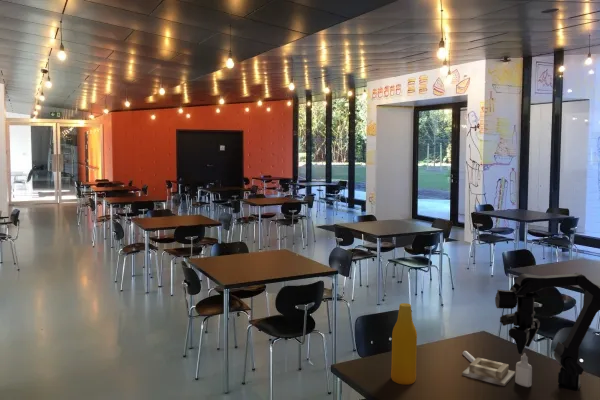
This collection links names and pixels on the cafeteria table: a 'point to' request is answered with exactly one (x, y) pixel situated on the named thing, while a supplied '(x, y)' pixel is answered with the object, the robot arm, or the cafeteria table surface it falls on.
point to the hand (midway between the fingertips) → (523, 350)
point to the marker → (468, 356)
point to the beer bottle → (404, 347)
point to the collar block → (489, 371)
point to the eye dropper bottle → (523, 372)
